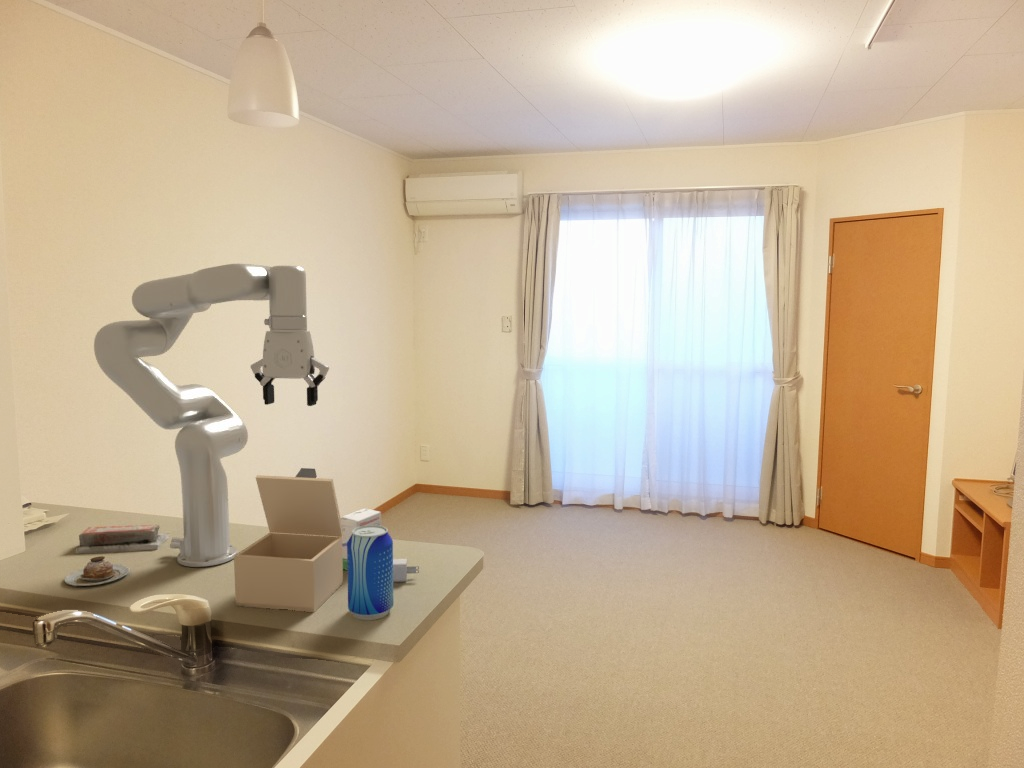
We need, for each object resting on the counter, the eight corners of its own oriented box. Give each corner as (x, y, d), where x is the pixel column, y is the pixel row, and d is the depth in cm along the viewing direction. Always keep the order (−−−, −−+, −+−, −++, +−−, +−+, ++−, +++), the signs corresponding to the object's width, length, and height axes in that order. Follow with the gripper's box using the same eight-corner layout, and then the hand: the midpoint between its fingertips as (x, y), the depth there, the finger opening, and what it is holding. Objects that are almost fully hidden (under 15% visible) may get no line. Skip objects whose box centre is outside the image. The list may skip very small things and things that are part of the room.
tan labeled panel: (255, 477, 144) (270, 458, 150) (269, 532, 150) (283, 512, 156) (331, 481, 142) (343, 462, 147) (342, 536, 148) (353, 516, 154)
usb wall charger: (386, 576, 154) (386, 558, 153) (419, 575, 154) (419, 557, 154) (385, 583, 150) (385, 565, 149) (418, 582, 151) (418, 563, 150)
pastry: (103, 592, 145) (102, 570, 144) (50, 588, 146) (48, 566, 146) (142, 570, 156) (141, 550, 156) (92, 567, 158) (91, 547, 158)
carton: (235, 606, 138) (233, 555, 137) (270, 578, 151) (269, 532, 150) (314, 612, 135) (313, 561, 134) (342, 583, 149) (342, 537, 148)
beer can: (361, 600, 141) (360, 521, 139) (400, 606, 138) (400, 525, 137) (339, 618, 133) (338, 534, 131) (380, 624, 130) (379, 539, 129)
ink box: (358, 573, 155) (357, 520, 154) (340, 569, 157) (339, 517, 156) (382, 561, 162) (382, 510, 161) (365, 557, 165) (364, 507, 163)
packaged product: (73, 535, 165) (89, 522, 174) (74, 555, 165) (91, 542, 175) (157, 531, 168) (169, 519, 178) (158, 551, 169) (170, 538, 178)
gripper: (241, 324, 150) (244, 405, 152) (319, 325, 147) (321, 408, 149) (259, 323, 157) (261, 401, 159) (334, 324, 154) (335, 403, 156)
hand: (290, 404), depth 154 cm, fingers open, 9 cm apart
